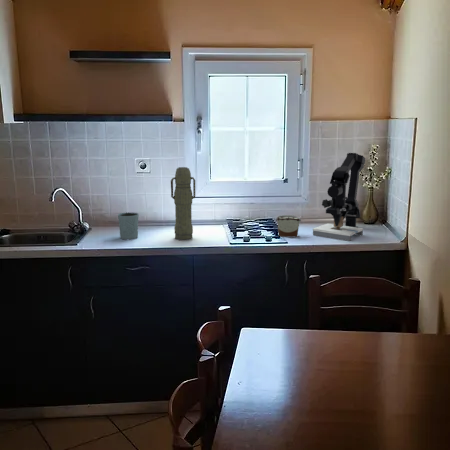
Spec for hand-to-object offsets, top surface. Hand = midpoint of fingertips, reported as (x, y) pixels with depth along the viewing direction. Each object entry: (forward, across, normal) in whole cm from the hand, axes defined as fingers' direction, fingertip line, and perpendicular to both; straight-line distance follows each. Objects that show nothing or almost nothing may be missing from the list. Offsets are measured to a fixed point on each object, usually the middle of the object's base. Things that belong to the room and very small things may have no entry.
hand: (338, 225), depth 270 cm
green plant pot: (+5, +69, -80) cm, 106 cm away
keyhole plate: (+5, 0, 0) cm, 5 cm away
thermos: (+5, +53, -58) cm, 79 cm away
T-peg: (+5, 0, 0) cm, 5 cm away
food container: (+5, +16, -20) cm, 26 cm away
